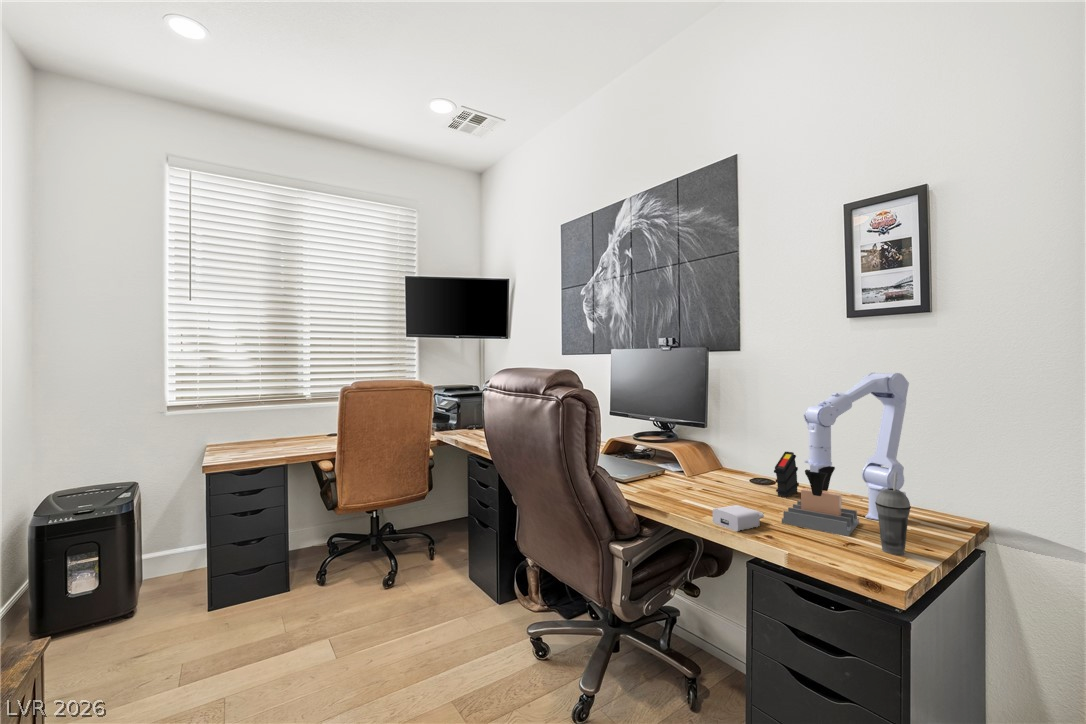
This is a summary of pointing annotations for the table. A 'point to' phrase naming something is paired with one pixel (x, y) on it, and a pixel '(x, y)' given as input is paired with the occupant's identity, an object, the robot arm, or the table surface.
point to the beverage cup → (893, 519)
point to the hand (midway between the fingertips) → (820, 492)
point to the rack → (822, 520)
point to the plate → (821, 502)
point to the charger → (737, 517)
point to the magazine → (786, 475)
